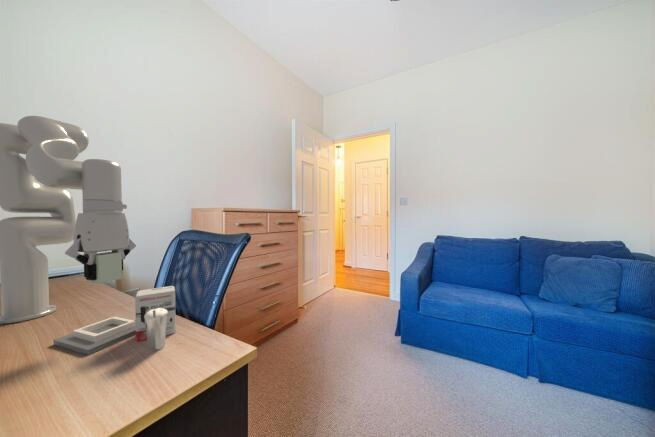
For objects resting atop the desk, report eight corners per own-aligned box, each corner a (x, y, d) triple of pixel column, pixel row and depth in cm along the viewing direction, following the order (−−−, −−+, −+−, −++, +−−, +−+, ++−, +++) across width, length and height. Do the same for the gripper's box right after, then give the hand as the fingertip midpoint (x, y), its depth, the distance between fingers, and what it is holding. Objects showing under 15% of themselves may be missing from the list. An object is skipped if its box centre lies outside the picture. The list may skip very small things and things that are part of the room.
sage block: (87, 281, 62) (86, 254, 62) (110, 277, 66) (109, 251, 66) (99, 283, 60) (98, 255, 60) (122, 278, 65) (121, 252, 65)
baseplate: (53, 344, 59) (53, 333, 59) (119, 320, 72) (118, 311, 72) (88, 355, 55) (88, 343, 54) (151, 327, 68) (151, 318, 68)
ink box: (135, 342, 60) (134, 295, 60) (137, 334, 64) (136, 290, 64) (176, 333, 64) (175, 289, 64) (175, 326, 69) (174, 285, 68)
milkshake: (142, 356, 54) (141, 312, 54) (147, 345, 58) (146, 304, 58) (166, 351, 56) (165, 308, 56) (169, 340, 61) (168, 301, 60)
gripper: (129, 208, 72) (131, 269, 72) (48, 207, 56) (51, 284, 56) (146, 208, 70) (148, 270, 70) (67, 206, 54) (69, 287, 54)
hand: (104, 276), depth 63 cm, fingers closed on sage block, 5 cm apart
